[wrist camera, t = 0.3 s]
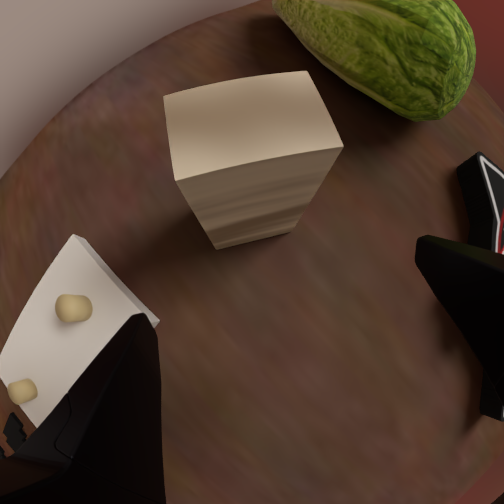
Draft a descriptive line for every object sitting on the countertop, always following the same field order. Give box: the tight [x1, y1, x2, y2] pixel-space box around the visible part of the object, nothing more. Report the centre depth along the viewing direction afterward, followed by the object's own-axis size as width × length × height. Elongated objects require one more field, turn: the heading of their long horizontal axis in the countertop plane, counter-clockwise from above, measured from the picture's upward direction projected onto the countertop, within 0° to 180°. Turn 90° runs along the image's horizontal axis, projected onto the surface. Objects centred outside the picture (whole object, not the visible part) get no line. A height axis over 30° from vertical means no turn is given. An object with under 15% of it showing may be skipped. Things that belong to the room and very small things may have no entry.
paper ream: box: [163, 71, 344, 250], centre depth 16 cm, size 4×6×13 cm
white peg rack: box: [0, 234, 160, 428], centre depth 18 cm, size 10×18×4 cm, turn 139°
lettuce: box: [272, 0, 476, 122], centre depth 21 cm, size 15×24×16 cm
